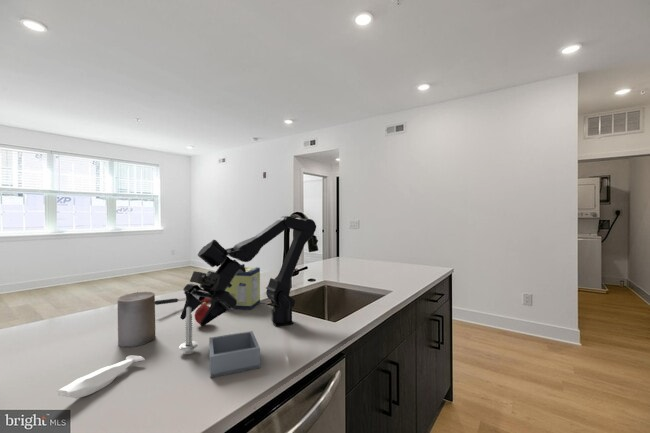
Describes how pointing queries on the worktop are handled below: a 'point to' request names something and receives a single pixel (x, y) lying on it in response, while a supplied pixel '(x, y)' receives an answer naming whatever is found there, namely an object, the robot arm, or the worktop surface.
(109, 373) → the white fish figurine
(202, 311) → the pomegranate
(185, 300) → the frying pan
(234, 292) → the protein box
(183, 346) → the screw
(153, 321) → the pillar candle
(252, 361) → the tote
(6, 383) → the worktop surface
